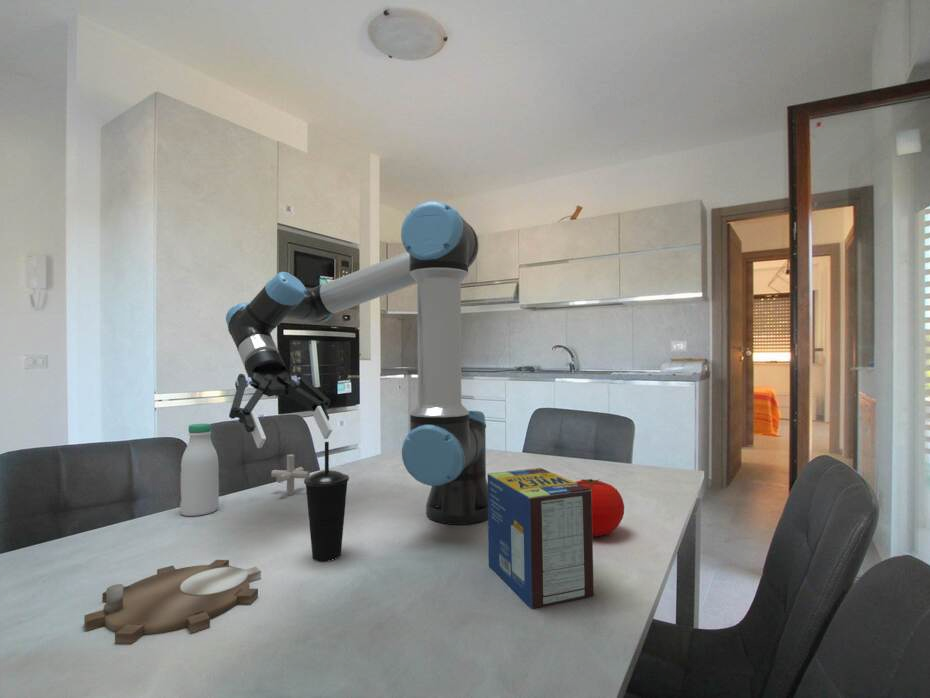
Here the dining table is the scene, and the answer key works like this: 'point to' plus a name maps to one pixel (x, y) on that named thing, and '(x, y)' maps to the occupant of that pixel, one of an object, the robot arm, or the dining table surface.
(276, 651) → the dining table surface
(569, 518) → the protein box
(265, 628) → the dining table surface
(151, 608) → the sprocket plate
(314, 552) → the drinking cup
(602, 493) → the tomato
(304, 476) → the pipe connector
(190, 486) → the milk bottle
